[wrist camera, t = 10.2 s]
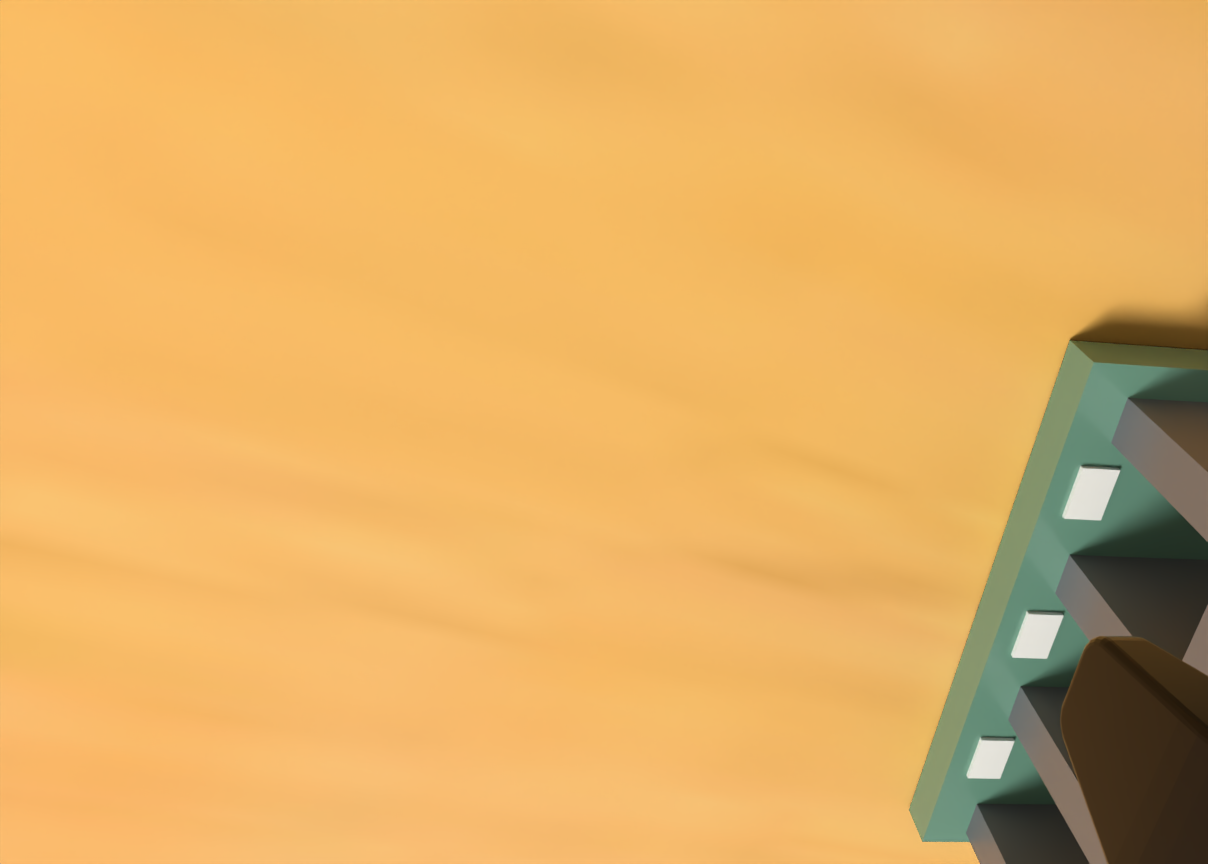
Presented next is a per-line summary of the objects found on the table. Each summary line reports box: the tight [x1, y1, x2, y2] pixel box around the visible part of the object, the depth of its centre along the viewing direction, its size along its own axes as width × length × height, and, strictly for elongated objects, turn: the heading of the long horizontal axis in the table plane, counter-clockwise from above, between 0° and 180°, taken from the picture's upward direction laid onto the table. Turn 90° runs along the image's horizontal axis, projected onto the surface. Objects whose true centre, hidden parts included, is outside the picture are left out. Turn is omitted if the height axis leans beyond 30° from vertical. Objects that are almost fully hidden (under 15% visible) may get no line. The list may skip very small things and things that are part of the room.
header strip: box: [909, 340, 1208, 842], centre depth 24 cm, size 13×7×4 cm, turn 174°
